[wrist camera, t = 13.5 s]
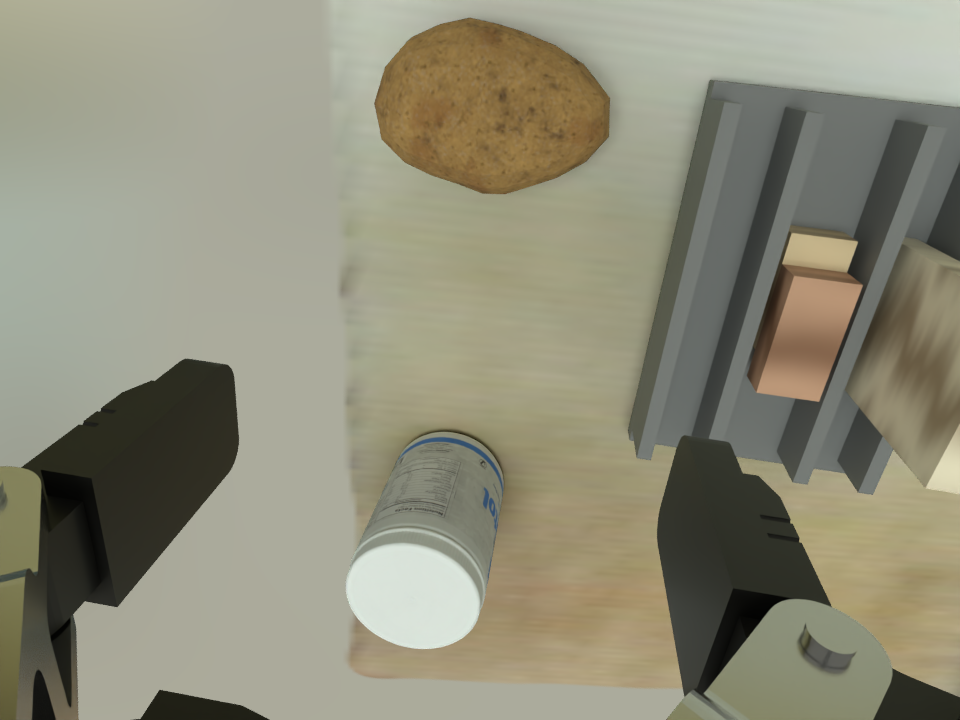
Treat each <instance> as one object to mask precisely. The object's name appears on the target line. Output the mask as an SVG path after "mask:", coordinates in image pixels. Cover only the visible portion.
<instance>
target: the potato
mask: <svg viewBox="0 0 960 720" xmlns="http://www.w3.org/2000/svg"><path fill="white" fill-rule="evenodd" d="M374 104H375V108H376V113H377V118H378V122H379V127H380V133H381V138H382V140H383V141H384V142H385V143H386V144H387V145H388V146H389V147H390V148H391V149H392V150H393V151H394V152H395V153H396V154H397V155H398V156H399V157H400V158H401V159H402V160H403V161H404V162H405V163H407V164H409V165H411V166H413V167H416V168H418V169H420V170H422V171H424V172H426V173H428V174H430V175H432V176H436V177H439V178H442V179H445V180H448V181H451V182H454V183H457V184H460V185H462V186H465V187H467V188H470V189H473V190H475V191H478V192H480V193H486V194H507V193H510V192H513V191H517V190H520V189H523V188H526V187H530V186H533V185H536V184H539V183H542V182H545V181H548V180H551V179H554V178H557V177H559V176H561V175H563V174H564V173H566V172H568V171H570V170H572V169H573V168H575V167H577V166H579V165H581V164H582V163H584V162H586V161H587V160H588V159H589V158H590V157H591V155H592V154H593V153H594V152H595V151H596V150H597V149H598V148H599V147H600V146H601V144H602V143H603V142H604V141H605V140H606V139H607V138H608V137H609V108H610V98H609V96H608V95H607V94H606V92H605V91H604V90H603V89H602V87H601V86H600V85H599V83H598V82H597V81H596V79H595V78H594V77H593V76H592V74H591V73H590V72H589V70H588V69H587V68H586V66H585V65H584V64H583V63H581V62H580V61H578V60H577V59H575V58H573V57H572V56H570V55H569V54H567V53H566V52H564V51H563V50H561V49H560V48H558V47H557V46H555V45H553V44H550V43H548V42H545V41H543V40H541V39H538V38H536V37H534V36H531V35H529V34H527V33H524V32H522V31H519V30H515V29H512V28H509V27H505V26H502V25H499V24H495V23H490V22H486V21H481V20H477V19H473V18H467V19H462V20H457V21H453V22H448V23H444V24H440V25H437V26H435V27H433V28H431V29H429V30H427V31H424V32H422V33H420V34H418V35H416V36H413V37H412V38H411V39H410V40H408V41H407V42H406V44H405V45H404V46H403V47H402V48H401V49H400V51H399V52H398V53H397V54H396V55H395V56H394V58H393V59H392V60H391V61H390V62H389V63H388V65H387V66H386V67H385V70H384V73H383V76H382V80H381V83H380V86H379V90H378V93H377V96H376V100H375V103H374Z"/></svg>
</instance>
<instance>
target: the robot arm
mask: <svg viewBox="0 0 960 720" xmlns="http://www.w3.org/2000/svg"><path fill="white" fill-rule="evenodd" d="M235 395H236V394H235V382H234V374H233V371H232V369H231V368H230V367H229V366H228V365H225V364H219V363H212V362H206V361H199V360H193V359H184V360H182V361H180V362H179V363H178V364H176V365H175V366H174V367H172V368H171V369H170V370H169V371H167V372H166V373H165V374H163V375H162V376H161V377H159V378H158V379H157V380H156V381H150V382H147V383H144V384H142V385H139V386H137V387H135V388H132V389H130V390H127V391H125V392H122V393H121V394H120V395H118V396H117V397H116V398H114V399H113V400H111V401H110V402H109V403H107V404H106V405H105V406H103V407H102V408H101V411H100V412H98V411H97V412H95V413H94V414H93V415H91V416H90V417H89V418H87V419H86V420H85V421H84V423H83V425H78V426H76V427H75V428H74V429H72V430H71V431H70V432H68V433H67V434H66V435H65V436H63V437H62V438H61V439H59V440H58V441H56V442H55V443H54V444H52V445H51V446H50V447H48V448H47V449H46V450H44V451H43V452H42V453H40V454H39V455H37V456H36V457H35V458H33V459H32V460H31V461H29V462H28V463H27V464H25V465H24V466H23V467H21V468H20V467H10V466H1V467H0V720H79V719H78V678H77V641H76V625H75V620H74V616H73V614H74V612H75V611H76V610H77V609H78V608H79V607H80V606H81V605H82V604H83V602H84V601H87V602H92V603H98V604H103V605H108V606H114V607H118V606H119V604H120V603H121V602H122V601H123V600H124V598H125V597H126V596H127V595H128V594H129V592H130V591H131V590H132V589H133V588H134V586H135V585H136V584H137V583H138V581H139V580H140V579H141V578H142V576H143V575H144V574H145V573H146V572H147V570H148V569H149V568H150V567H151V566H152V565H153V563H154V562H155V561H156V560H157V559H158V557H159V556H160V555H161V554H162V553H163V551H164V550H165V549H166V548H167V546H168V545H169V544H170V543H171V542H172V540H173V539H174V538H175V537H176V536H177V534H178V533H179V532H180V531H181V530H182V528H183V527H184V526H185V525H186V524H187V522H188V521H189V520H190V519H191V518H192V516H193V515H194V514H195V512H196V511H197V510H198V509H199V508H200V507H201V505H202V504H203V503H204V502H205V501H206V500H207V498H208V497H209V496H210V495H211V494H212V492H213V491H214V490H215V489H216V487H217V486H218V485H219V484H220V483H221V481H222V480H223V479H224V478H225V477H226V475H227V474H228V473H229V472H230V470H231V468H232V466H233V464H234V462H235V459H236V455H237V451H238V445H239V435H238V422H237V408H236V396H235ZM790 520H791V519H790V517H789V515H788V513H787V511H786V509H785V507H784V504H783V502H782V500H781V498H780V497H779V496H778V495H777V494H776V493H775V492H774V491H773V490H772V489H771V488H770V487H769V486H768V485H767V484H766V483H765V482H764V481H763V480H762V479H761V478H760V477H759V476H756V475H750V474H743V473H742V471H741V468H740V466H739V463H738V461H737V459H736V456H735V454H734V451H733V449H732V446H731V444H730V443H729V442H726V441H719V440H713V439H706V438H700V437H693V436H686V435H684V436H682V437H681V439H680V441H679V443H678V446H677V449H676V453H675V456H674V460H673V463H672V467H671V471H670V474H669V478H668V482H667V485H666V489H665V492H664V496H663V500H662V503H661V507H660V512H659V517H658V527H657V541H658V548H659V554H660V560H661V566H662V571H663V577H664V583H665V588H666V594H667V600H668V606H669V611H670V617H671V623H672V628H673V634H674V640H675V646H676V651H677V657H678V663H679V668H680V674H681V680H682V686H683V691H684V696H685V697H684V699H683V700H682V701H681V702H680V703H679V705H678V706H677V707H676V708H675V709H674V711H673V712H672V713H671V714H670V716H669V717H668V718H667V719H666V720H960V697H958V696H955V695H953V694H950V693H948V692H945V691H943V690H940V689H938V688H936V687H933V686H931V685H928V684H926V683H923V682H921V681H919V680H916V679H914V678H911V677H909V676H907V675H905V674H902V673H900V672H898V671H896V670H894V669H893V668H892V666H891V662H890V659H889V657H888V655H887V653H886V651H885V650H884V648H883V647H882V645H881V644H880V643H879V641H878V640H877V639H876V638H875V637H874V636H873V635H872V634H871V633H870V632H869V631H868V630H867V629H866V628H865V627H864V626H862V625H861V624H860V623H858V622H857V621H856V620H854V619H853V618H851V617H850V616H848V615H846V614H845V613H843V612H841V611H839V610H837V609H835V608H832V606H831V604H830V602H829V600H828V598H827V595H826V593H825V591H824V589H823V587H822V585H821V583H820V581H819V579H818V576H817V574H816V572H815V570H814V568H813V566H812V564H811V562H810V559H809V557H808V555H807V553H806V551H805V549H804V547H803V545H802V543H799V536H798V534H797V532H796V530H795V528H794V526H793V524H790ZM136 720H269V719H267V718H265V717H263V716H261V715H259V714H257V713H255V712H253V711H251V710H249V709H247V708H246V707H243V706H241V705H236V704H231V703H225V702H220V701H214V700H210V699H205V698H199V697H194V696H189V695H184V694H179V693H173V692H168V691H163V690H159V692H158V693H157V695H156V696H155V698H154V699H153V701H152V702H151V704H150V705H149V707H148V708H147V710H146V711H145V713H144V714H143V716H142V717H141V719H136Z"/></svg>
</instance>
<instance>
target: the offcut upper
mask: <svg viewBox="0 0 960 720" xmlns="http://www.w3.org/2000/svg"><path fill="white" fill-rule="evenodd" d="M862 287H863V285H862V284H861V283H860V282H858V281H857V280H856V279H855V278H853V277H852V276H851V275H849V274H848V273H847V272H839V271H831V270H824V269H816V268H809V267H801V266H793V265H786V264H782V266H781V269H780V272H779V275H778V279H777V282H776V285H775V288H774V291H773V294H772V298H771V301H770V304H769V307H768V310H767V314H766V317H765V320H764V323H763V326H762V329H761V333H760V336H759V339H758V342H757V345H756V348H755V352H754V355H753V358H752V361H751V364H750V368H749V371H748V374H747V377H748V379H749V380H750V382H751V384H752V386H753V388H754V389H755V391H756V393H762V394H769V395H776V396H783V397H790V398H796V399H803V400H810V401H817V402H819V401H820V398H821V395H822V393H823V390H824V387H825V385H826V382H827V379H828V377H829V374H830V371H831V369H832V366H833V363H834V361H835V358H836V355H837V353H838V350H839V348H840V345H841V342H842V340H843V337H844V334H845V332H846V329H847V326H848V324H849V321H850V318H851V316H852V313H853V310H854V308H855V305H856V302H857V300H858V297H859V294H860V292H861V289H862Z"/></svg>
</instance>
